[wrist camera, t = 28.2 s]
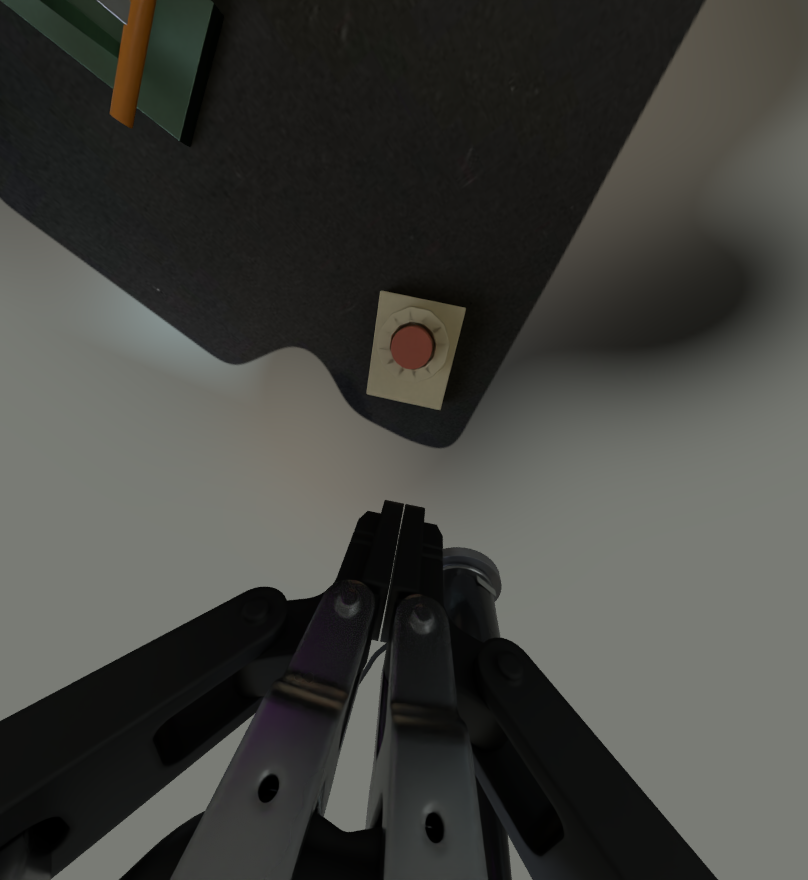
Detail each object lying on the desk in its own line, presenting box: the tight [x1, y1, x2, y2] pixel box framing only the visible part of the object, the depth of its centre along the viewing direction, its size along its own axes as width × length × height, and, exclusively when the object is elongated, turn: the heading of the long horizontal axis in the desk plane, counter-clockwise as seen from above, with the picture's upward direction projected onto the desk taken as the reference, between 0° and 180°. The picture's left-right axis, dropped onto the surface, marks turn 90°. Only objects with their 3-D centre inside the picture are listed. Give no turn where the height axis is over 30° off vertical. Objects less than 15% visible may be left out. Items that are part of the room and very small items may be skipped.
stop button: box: [391, 325, 433, 369], centre depth 27 cm, size 4×4×2 cm
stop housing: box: [366, 291, 466, 410], centre depth 29 cm, size 10×8×4 cm
